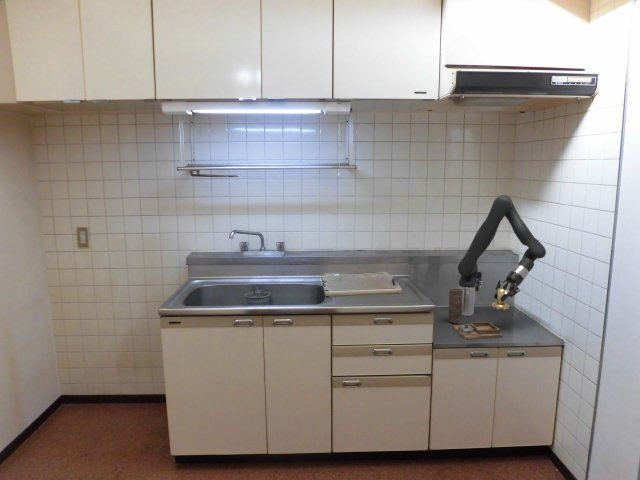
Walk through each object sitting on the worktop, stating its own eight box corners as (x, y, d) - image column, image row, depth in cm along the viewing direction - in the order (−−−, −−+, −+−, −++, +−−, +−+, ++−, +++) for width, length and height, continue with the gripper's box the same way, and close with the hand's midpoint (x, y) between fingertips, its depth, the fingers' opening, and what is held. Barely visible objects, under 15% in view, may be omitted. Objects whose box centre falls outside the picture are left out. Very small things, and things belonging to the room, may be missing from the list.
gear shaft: (489, 304, 223) (490, 287, 221) (503, 304, 224) (505, 286, 222) (497, 309, 215) (498, 291, 213) (511, 309, 216) (513, 291, 214)
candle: (452, 325, 229) (454, 291, 226) (445, 320, 236) (446, 287, 233) (464, 323, 231) (466, 289, 228) (456, 319, 238) (458, 286, 235)
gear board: (452, 327, 227) (453, 319, 226) (487, 325, 228) (488, 317, 227) (465, 339, 211) (465, 330, 210) (502, 337, 212) (503, 328, 212)
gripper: (504, 267, 225) (484, 291, 223) (525, 274, 212) (504, 299, 210) (510, 276, 228) (491, 299, 226) (531, 283, 215) (511, 307, 213)
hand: (498, 299), depth 218 cm, fingers closed on gear shaft, 4 cm apart
